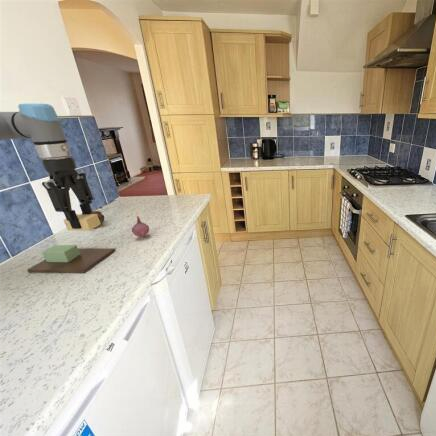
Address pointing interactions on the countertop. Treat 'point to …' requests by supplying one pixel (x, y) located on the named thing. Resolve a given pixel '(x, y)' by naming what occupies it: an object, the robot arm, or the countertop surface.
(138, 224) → the vegetable
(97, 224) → the sand pad
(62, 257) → the sage pad
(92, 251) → the board
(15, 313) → the countertop surface
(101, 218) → the pottery mug
